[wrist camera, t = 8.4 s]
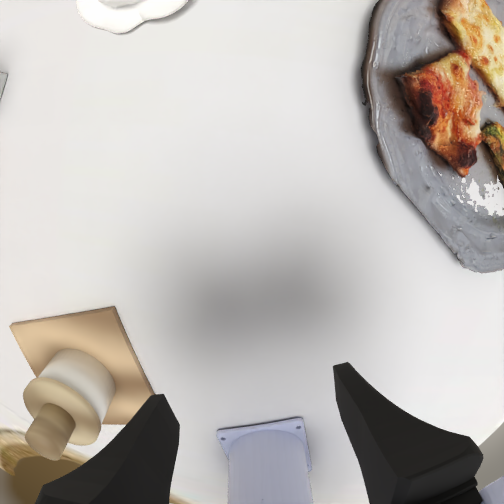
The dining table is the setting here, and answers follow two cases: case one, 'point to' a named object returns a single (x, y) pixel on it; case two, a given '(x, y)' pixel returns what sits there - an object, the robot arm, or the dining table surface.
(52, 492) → the robot arm
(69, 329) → the square wooden coaster
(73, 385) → the jar
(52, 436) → the lid
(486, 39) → the food plate
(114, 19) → the rose
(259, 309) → the dining table surface
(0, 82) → the skincare box
